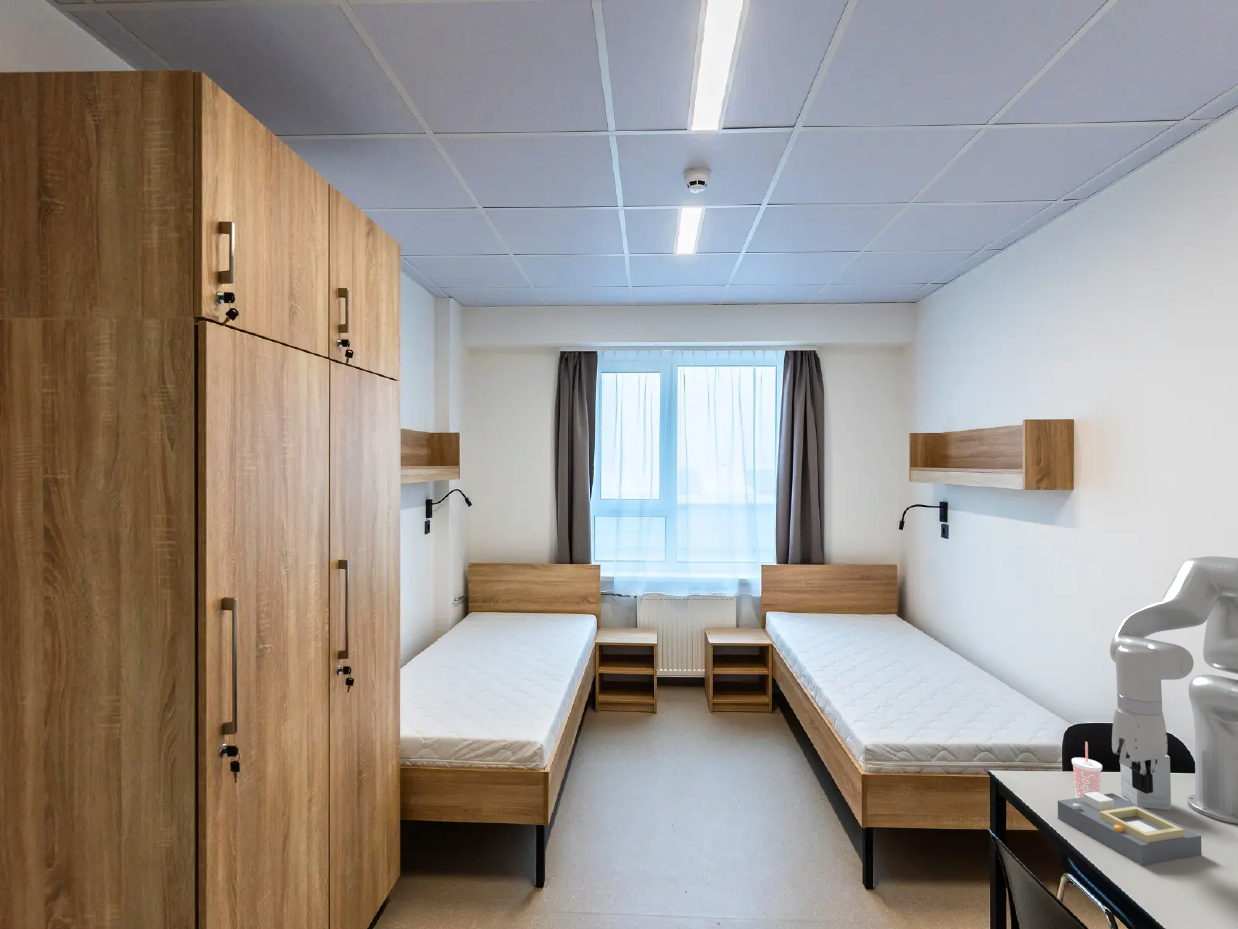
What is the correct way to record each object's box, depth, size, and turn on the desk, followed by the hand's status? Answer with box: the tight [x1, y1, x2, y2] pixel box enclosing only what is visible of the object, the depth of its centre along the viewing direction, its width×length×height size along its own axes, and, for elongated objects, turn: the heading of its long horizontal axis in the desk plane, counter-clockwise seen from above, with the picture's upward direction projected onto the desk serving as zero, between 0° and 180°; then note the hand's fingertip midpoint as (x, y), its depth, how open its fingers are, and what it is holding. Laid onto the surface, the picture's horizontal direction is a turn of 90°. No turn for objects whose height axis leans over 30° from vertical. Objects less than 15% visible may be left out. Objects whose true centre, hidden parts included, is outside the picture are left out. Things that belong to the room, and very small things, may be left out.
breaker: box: [1083, 792, 1114, 812], centre depth 148 cm, size 4×4×4 cm
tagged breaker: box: [1126, 821, 1157, 832], centre depth 138 cm, size 4×4×4 cm
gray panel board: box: [1057, 792, 1203, 866], centre depth 143 cm, size 16×19×6 cm
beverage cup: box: [1071, 741, 1103, 798], centre depth 159 cm, size 6×6×14 cm
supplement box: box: [1119, 754, 1172, 811], centre depth 158 cm, size 7×7×13 cm
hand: (1142, 790), depth 139 cm, fingers closed
